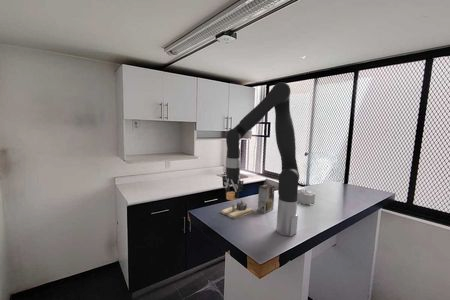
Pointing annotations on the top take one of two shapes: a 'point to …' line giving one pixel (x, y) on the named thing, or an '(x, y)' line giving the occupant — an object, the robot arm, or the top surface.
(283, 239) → the top surface
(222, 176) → the robot arm
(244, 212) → the gear board
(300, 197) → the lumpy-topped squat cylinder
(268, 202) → the coffee box
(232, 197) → the gear
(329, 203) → the top surface
